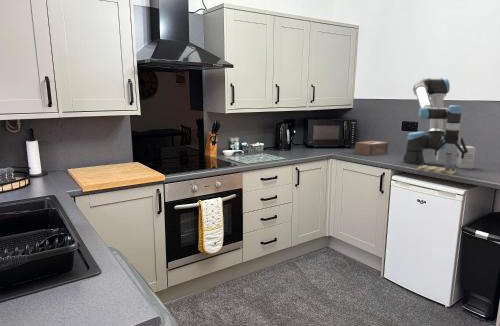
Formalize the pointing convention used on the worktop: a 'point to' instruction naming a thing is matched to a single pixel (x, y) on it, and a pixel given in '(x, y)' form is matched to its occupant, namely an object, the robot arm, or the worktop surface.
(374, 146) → the tissue box cover
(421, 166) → the tan flat oblong piece
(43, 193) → the worktop surface
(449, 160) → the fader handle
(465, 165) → the supplement box
